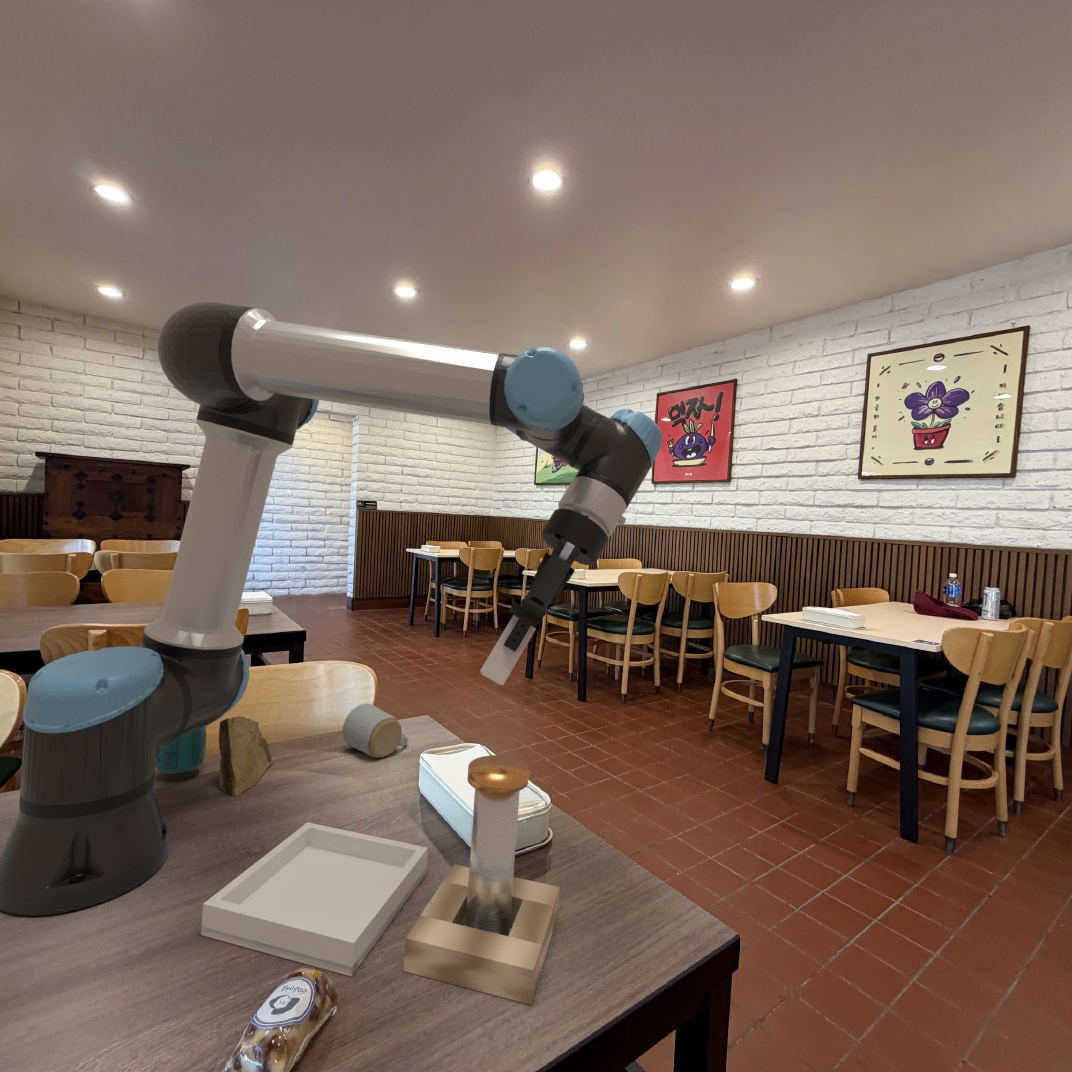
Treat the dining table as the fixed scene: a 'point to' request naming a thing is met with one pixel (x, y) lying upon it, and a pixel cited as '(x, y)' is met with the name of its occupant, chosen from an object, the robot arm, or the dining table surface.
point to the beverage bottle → (182, 753)
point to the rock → (241, 754)
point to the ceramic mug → (373, 731)
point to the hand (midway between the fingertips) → (490, 679)
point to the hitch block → (483, 940)
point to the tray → (318, 897)
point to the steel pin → (493, 840)
